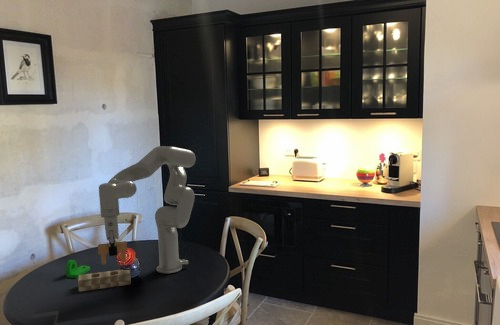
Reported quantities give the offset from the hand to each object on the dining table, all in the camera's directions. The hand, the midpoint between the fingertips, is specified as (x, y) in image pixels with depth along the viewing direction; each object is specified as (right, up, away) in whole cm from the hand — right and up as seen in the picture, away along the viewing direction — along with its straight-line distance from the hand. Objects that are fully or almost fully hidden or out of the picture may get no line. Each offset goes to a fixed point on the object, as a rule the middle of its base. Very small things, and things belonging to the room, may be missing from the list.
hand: (113, 253), depth 178 cm
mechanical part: (-25, -16, +26) cm, 39 cm away
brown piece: (0, -4, 0) cm, 4 cm away
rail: (-7, -17, +11) cm, 21 cm away
